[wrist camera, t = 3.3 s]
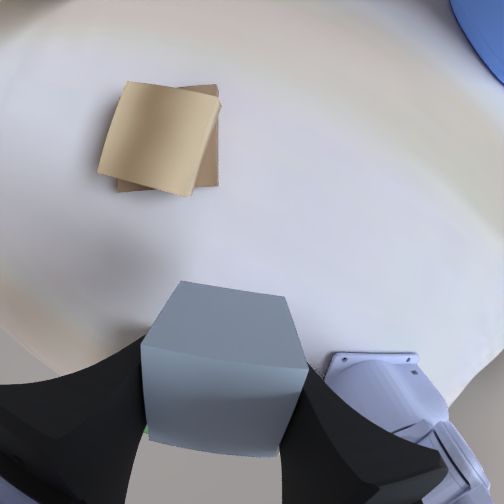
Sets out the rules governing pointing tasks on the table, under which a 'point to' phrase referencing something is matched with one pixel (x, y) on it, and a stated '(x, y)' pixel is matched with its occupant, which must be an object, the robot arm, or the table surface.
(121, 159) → the tower top
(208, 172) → the tower base
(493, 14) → the water jug
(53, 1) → the table surface
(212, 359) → the block
